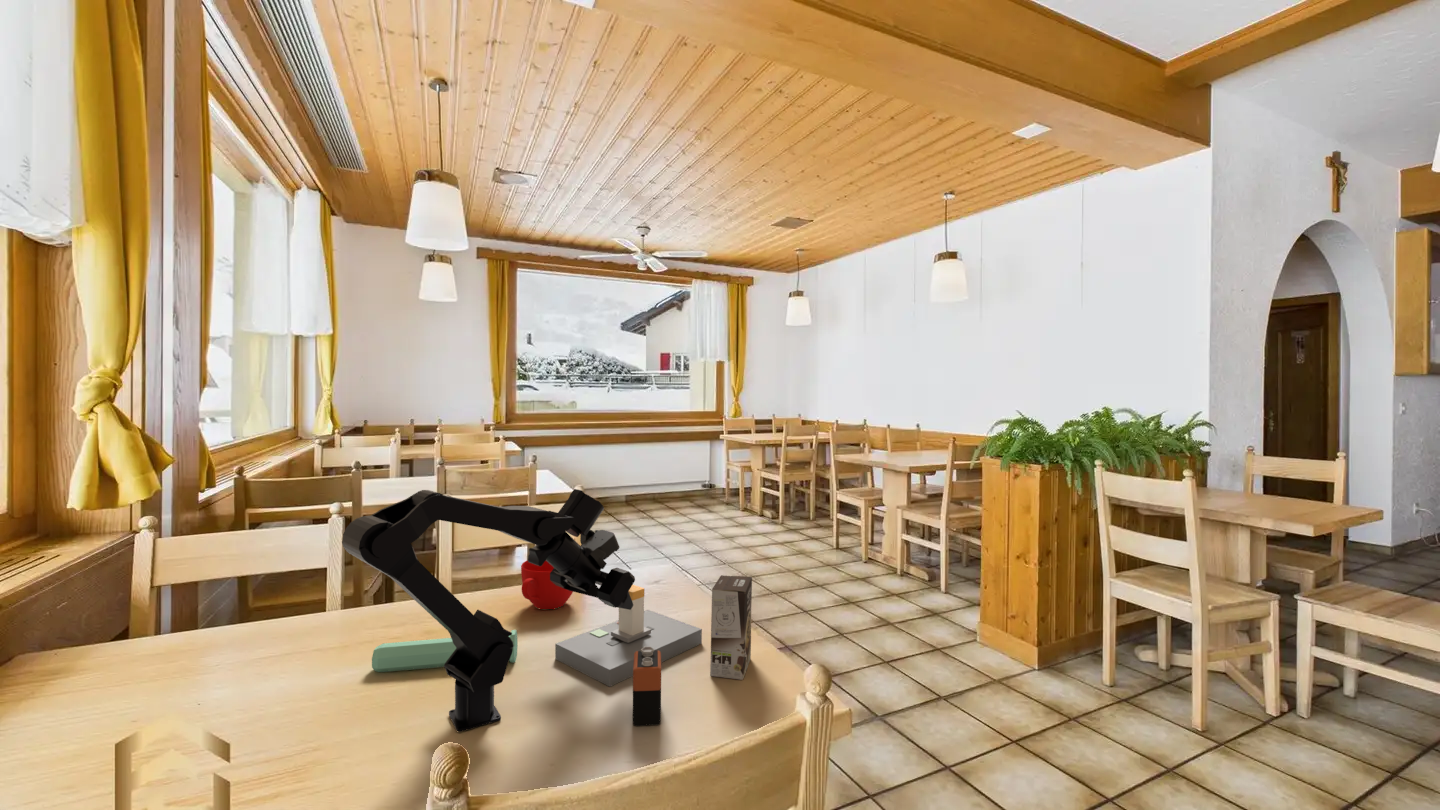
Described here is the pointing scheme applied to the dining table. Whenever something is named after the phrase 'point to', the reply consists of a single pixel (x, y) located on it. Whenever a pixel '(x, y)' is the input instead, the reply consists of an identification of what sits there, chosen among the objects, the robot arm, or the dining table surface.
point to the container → (419, 654)
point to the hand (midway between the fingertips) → (615, 601)
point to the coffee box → (731, 627)
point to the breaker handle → (632, 618)
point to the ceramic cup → (542, 586)
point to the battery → (647, 687)
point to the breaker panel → (625, 647)
